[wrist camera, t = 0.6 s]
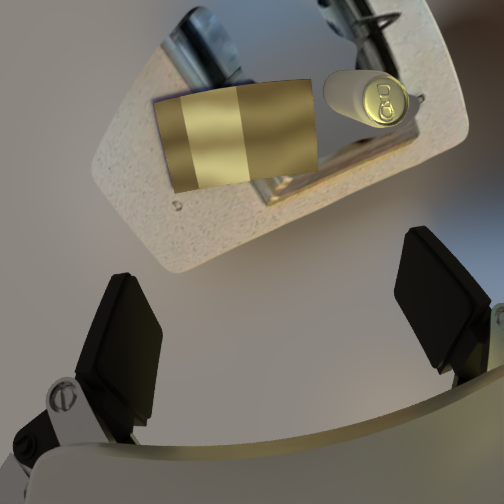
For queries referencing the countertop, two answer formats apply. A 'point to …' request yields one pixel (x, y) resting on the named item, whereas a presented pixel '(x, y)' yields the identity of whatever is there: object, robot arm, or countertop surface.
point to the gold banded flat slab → (238, 134)
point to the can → (367, 97)
